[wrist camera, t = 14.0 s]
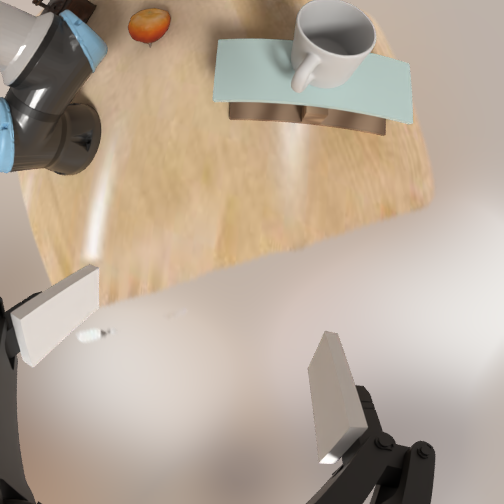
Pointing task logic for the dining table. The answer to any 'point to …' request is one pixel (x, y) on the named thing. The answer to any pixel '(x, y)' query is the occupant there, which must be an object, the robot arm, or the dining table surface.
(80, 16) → the manual coffee grinder
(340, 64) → the mug
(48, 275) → the dining table surface
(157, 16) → the fruit
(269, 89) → the plank
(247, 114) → the fulcrum stand
